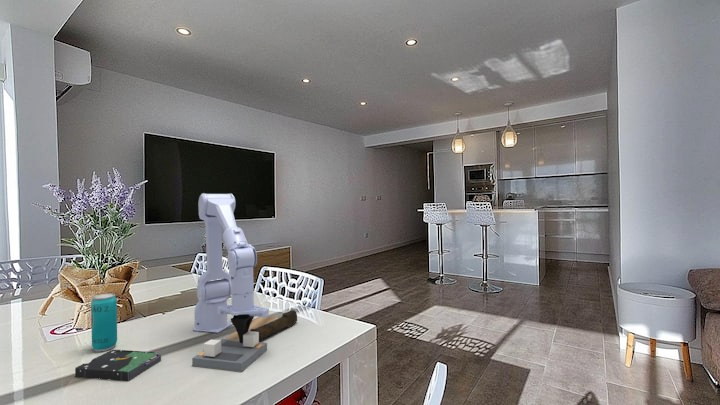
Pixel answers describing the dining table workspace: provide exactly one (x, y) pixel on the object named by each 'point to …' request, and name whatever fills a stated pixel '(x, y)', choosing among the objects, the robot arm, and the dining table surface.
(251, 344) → the switch tab
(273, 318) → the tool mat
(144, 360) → the disk drive
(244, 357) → the grey flat block
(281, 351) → the dining table surface
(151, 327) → the dining table surface
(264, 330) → the dark brown log
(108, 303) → the beverage can
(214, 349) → the white cube
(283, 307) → the dining table surface
